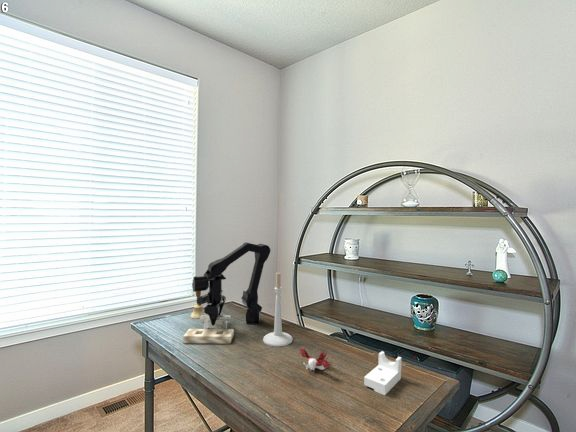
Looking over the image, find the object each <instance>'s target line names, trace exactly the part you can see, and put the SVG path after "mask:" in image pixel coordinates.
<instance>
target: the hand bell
mask: <svg viewBox="0 0 576 432" xmlns="http://www.w3.org/2000/svg"><path fill="white" fill-rule="evenodd" d="M195 296H196V299H197V298H198V297H200V296H202V291H197V292H195ZM201 315H207V314H206V313H204V307H203V304H201V305H200V306H199V305H198V303H196V304H195V305H194V306H193V310H192V312H191V314H190V315H189V317H190V318H191V319H195V320H196V319H197V320H198V319H199V320H200V316H201Z"/></svg>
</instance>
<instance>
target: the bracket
mask: <svg viewBox="0 0 576 432" xmlns="http://www.w3.org/2000/svg"><path fill="white" fill-rule="evenodd" d="M377 361H378V363H377V364H378V365H376V367H374V368H373V369H372V370H371V371H369V372H368V373H367V374H366V375H365V376H364V377H363V379H364V380H363V385H364V386H365V387H369V388H371V389H373V391H374V392H376V393H378V394H380V395H383V396H386V395H387V394H388V393H389V392H390V391H391V390H392V388H393V387H394V386H396V385H397V383H398V382H399V381H400V380H402V357H401V356H397V358H395V361H391V360H389V359H388V358H387V356H386V354H385V351H383V350H381V351H380V352H379V353H378V360H377Z"/></svg>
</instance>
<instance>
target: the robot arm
mask: <svg viewBox="0 0 576 432" xmlns="http://www.w3.org/2000/svg"><path fill="white" fill-rule="evenodd" d="M249 252H252V253H254V264H253V268H252V272H251V276H250V281H249V285H248V287H247V290H246V291H245V290H243V293H242V296H241V297H240V298H241V302H242V304H243V305H244V306H245V308H246V312H245V322H246V325H260V323H261V312H262V309H263V307H262V306H261V305H260V304H259V302H258V301H259V294H258V289H259V287H260V286H259V285H260V281H261V277H262V275H263V274H262V273H263V269H264V266H265V263H266V261H267V260H268V258H269V257H270V253H271V247H270V246H269V245H268V244H264V243H258V244H254V243H250V242H243V244H241V245H240V246H239V247H237V248H236V249H234V250H232V251H231V252H230V253H229V254H228V253H227V255H225V256H224V257H222V258H219V259H216V260H214V261H211V262H210V263H209V264H208V267H207V270H206V271H205V272H204V274H203V275H201V276H200V275H199V276H198V275H197V276H196V275H195V276H192V278H193V280H192V283H191V285H192V286H191V287H192V291H193V293H196V292H197V291H201V292H203V291H207V290H208V292H207V293H206V294H203V295H200V297H198V298H197V297H196V304H197V303H198V305H199V306H200V305H204V304H207V305H206V306H205V307H203V311H204V313H206V315H209V317H210V320H209V321H210V323H211V326H215V325H216V322H217V321H218V320H217V317H218V315H222V311H223V308H224V306H225V304H226V298H227V297H226V296H225V295H223V293H224V291H223V289H222V288H223V287H222V286H223V285H222V284H223V283H222V282H223V281H222V280H226V279H227V278H226V276H224V274H223V273H224V272H225V271H226V270H227V268H228V267H229V266H230V265H231V264H233V263H234V262H236V261H237V260H238V259H240V258H241V257H243V256H244V255H246V254H247V253H249Z"/></svg>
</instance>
